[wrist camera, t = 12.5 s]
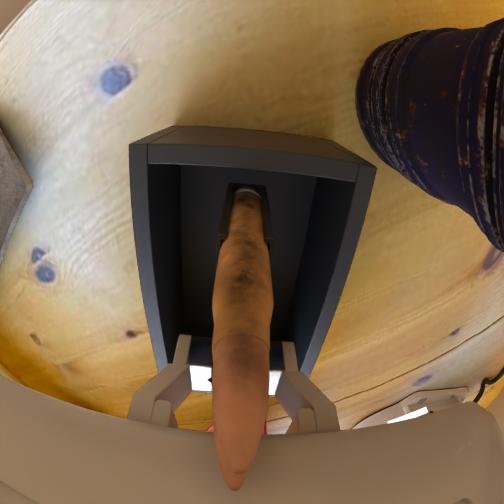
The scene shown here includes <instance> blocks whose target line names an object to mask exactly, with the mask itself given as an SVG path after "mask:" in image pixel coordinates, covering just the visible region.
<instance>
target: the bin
mask: <svg viewBox="0 0 504 504" xmlns="http://www.w3.org/2000/svg"><path fill="white" fill-rule="evenodd" d="M376 170H377V167H376V166H374V165H373V164H371V163H370V162H368V161H366V160H365V159H363V158H362V157H360V156H358V155H357V154H355V153H353V152H352V151H350V150H348V149H347V148H345V147H343V146H341V145H340V144H338V143H336V142H334V141H333V140H328V139H322V138H316V137H309V136H303V135H295V134H288V133H280V132H272V131H262V130H252V129H240V128H226V127H207V126H171V127H168V128H165V129H163V130H160V131H158V132H156V133H153V134H151V135H149V136H146V137H144V138H142V139H140V140H137V141H135V142H133V143H131V144H129V172H130V192H131V206H132V219H133V229H134V239H135V247H136V256H137V263H138V270H139V277H140V284H141V290H142V296H143V302H144V308H145V313H146V318H147V323H148V328H149V333H150V338H151V342H152V347H153V351H154V356H155V360H156V364H157V368H158V372H160V371H161V370H162V369H163V368H165V367H166V366H167V365H168V364H169V363H171V364H173V360H174V355H175V351H176V347H177V342H178V338H179V336H180V334H183V335H191V336H201V337H209V338H213V330H214V319H213V311H212V299H213V290H214V284H215V277H216V250H217V234H218V229H219V224H220V219H221V214H222V210H223V205H224V200H225V195H226V191H227V186H228V183H230V182H231V183H244V184H255V185H265V186H266V187H267V193H268V200H269V207H270V215H271V222H272V229H273V237H274V245H273V251H272V258H271V264H270V270H271V280H272V290H273V304H274V305H273V312H272V317H271V322H270V341H281V342H293V343H294V346H295V352H296V359H297V365H298V372H303V373H304V374H305V376H306V377H307V378H308V379H309V376H310V374H311V372H312V369H313V367H314V365H315V362H316V360H317V358H318V355H319V353H320V350H321V348H322V345H323V343H324V340H325V338H326V335H327V332H328V330H329V327H330V325H331V322H332V319H333V316H334V314H335V311H336V308H337V305H338V303H339V300H340V297H341V294H342V291H343V288H344V285H345V282H346V279H347V276H348V273H349V270H350V267H351V264H352V260H353V257H354V254H355V251H356V247H357V244H358V240H359V237H360V234H361V230H362V226H363V223H364V219H365V215H366V212H367V208H368V204H369V200H370V196H371V192H372V188H373V183H374V179H375V175H376ZM192 391H195V392H204V393H213V385H212V391H201V390H192ZM269 396H274V395H269Z"/></svg>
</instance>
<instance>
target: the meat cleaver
mask: <svg viewBox="0 0 504 504" xmlns="http://www.w3.org/2000/svg"><path fill="white" fill-rule="evenodd" d="M32 189H33V181H32V179H31V178H30V176H29V175H28V173H27V172H26V170H25V169H24V167H23V165H22V164H21V162H20V161H19V159H18V158H17V156H16V154H15V153H14V151H13V149H12V148H11V146H10V144H9V143H8V141H7V139H6V137H5V136H4V134H3V132H2V130H1V128H0V265H1V262H2V259H3V256H4V253H5V250H6V248H7V245H8V242H9V240H10V237H11V235H12V232H13V230H14V227H15V225H16V223H17V220H18V218H19V216H20V214H21V212H22V209H23V207H24V205H25V203H26V201H27V199H28V197H29V195H30V193H31V191H32Z"/></svg>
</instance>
